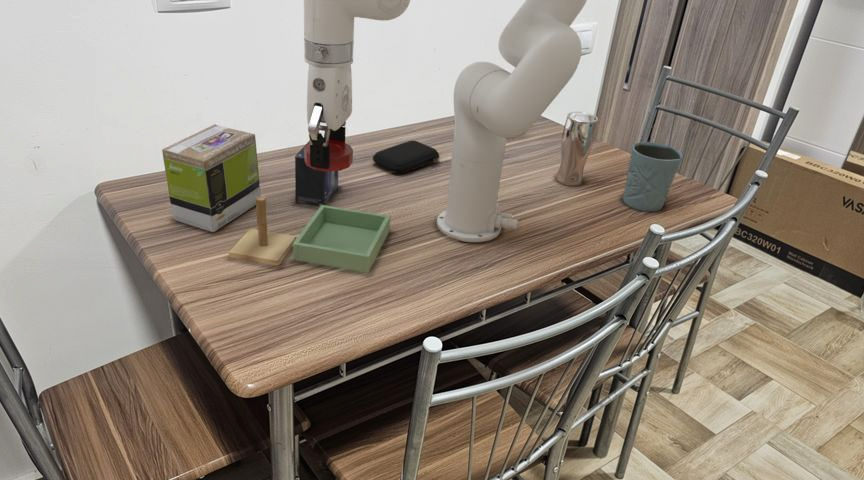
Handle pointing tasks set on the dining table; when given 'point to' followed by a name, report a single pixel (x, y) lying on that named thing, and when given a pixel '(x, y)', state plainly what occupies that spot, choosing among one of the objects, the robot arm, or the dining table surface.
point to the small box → (313, 183)
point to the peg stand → (262, 241)
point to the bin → (342, 238)
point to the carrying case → (406, 157)
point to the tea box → (212, 177)
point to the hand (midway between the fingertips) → (328, 157)
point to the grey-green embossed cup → (650, 175)
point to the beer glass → (576, 147)
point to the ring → (334, 156)
